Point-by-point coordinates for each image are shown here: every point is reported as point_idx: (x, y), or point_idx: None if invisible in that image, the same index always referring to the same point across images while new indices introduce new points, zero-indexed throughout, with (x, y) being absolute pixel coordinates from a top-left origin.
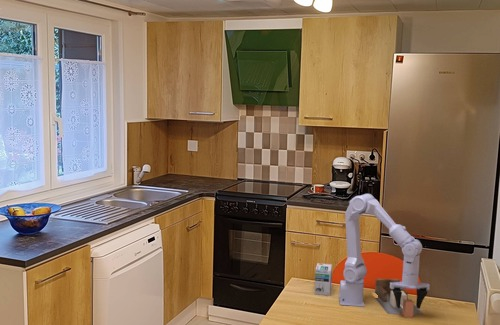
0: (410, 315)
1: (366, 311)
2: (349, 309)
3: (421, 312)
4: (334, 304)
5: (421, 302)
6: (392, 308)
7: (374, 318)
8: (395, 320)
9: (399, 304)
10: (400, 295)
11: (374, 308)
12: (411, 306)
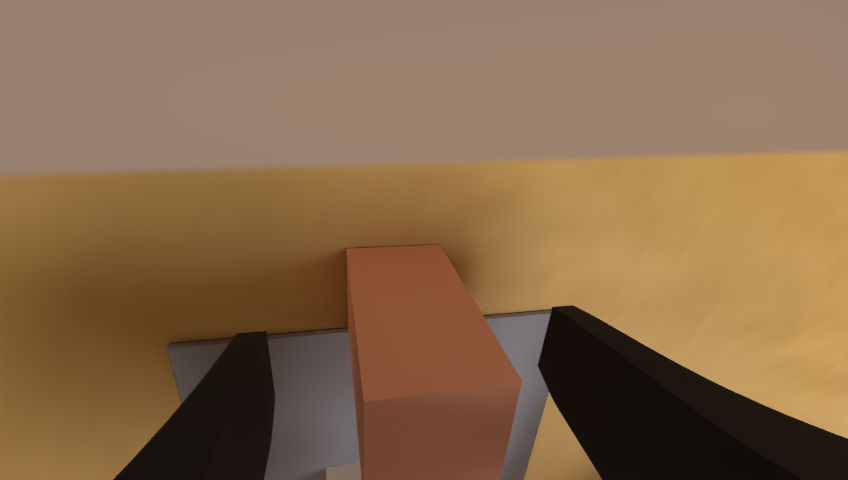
0: (380, 259)
1: (695, 344)
2: (777, 359)
3: (188, 393)
4: (796, 416)
5: (177, 418)
6: None
7: (740, 204)
8: (582, 159)
9: (608, 332)
10: (810, 468)
11: None
12: (394, 336)
